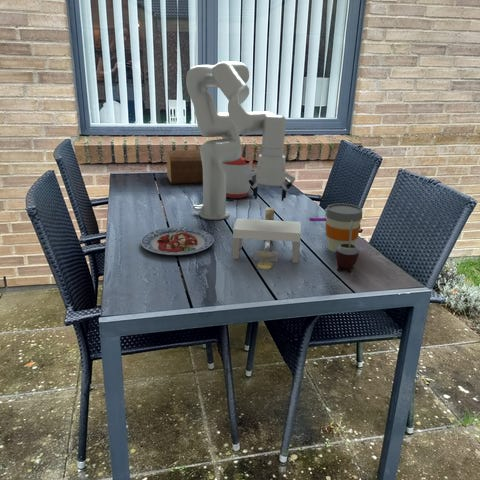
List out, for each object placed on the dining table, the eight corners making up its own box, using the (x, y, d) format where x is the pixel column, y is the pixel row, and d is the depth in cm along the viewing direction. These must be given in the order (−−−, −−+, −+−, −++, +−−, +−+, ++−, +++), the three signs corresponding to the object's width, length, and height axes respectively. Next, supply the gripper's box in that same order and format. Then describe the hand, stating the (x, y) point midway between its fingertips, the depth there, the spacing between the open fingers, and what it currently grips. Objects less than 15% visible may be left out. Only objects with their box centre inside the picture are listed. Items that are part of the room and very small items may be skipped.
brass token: (255, 269, 151) (255, 266, 150) (258, 263, 155) (258, 260, 155) (271, 271, 150) (271, 268, 149) (273, 265, 154) (273, 261, 154)
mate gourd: (342, 275, 148) (347, 230, 142) (328, 265, 154) (332, 222, 149) (361, 271, 150) (367, 227, 145) (347, 262, 157) (352, 219, 151)
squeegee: (305, 207, 208) (327, 208, 208) (304, 211, 208) (327, 211, 209) (316, 231, 181) (342, 232, 181) (316, 236, 182) (341, 236, 182)
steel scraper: (253, 260, 157) (254, 226, 152) (258, 237, 176) (259, 206, 172) (277, 261, 156) (279, 227, 152) (279, 238, 175) (281, 208, 171)
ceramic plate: (134, 237, 174) (133, 229, 173) (200, 229, 184) (200, 221, 182) (150, 264, 152) (149, 256, 151) (224, 253, 162) (224, 245, 161)
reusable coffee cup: (331, 256, 161) (336, 215, 155) (316, 243, 172) (320, 204, 166) (364, 253, 164) (370, 213, 158) (347, 240, 175) (352, 202, 170)
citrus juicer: (261, 196, 226) (262, 155, 219) (230, 201, 217) (231, 159, 209) (242, 188, 238) (243, 149, 231) (213, 193, 229) (213, 152, 221)
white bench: (232, 258, 157) (233, 229, 154) (236, 246, 168) (237, 218, 164) (298, 262, 155) (300, 233, 152) (298, 250, 166) (300, 222, 162)
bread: (227, 182, 250) (227, 152, 244) (170, 185, 242) (169, 153, 236) (219, 174, 266) (219, 145, 260) (166, 176, 258) (165, 147, 252)
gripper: (246, 152, 159) (244, 200, 166) (297, 155, 158) (293, 204, 164) (248, 147, 166) (246, 194, 173) (297, 151, 165) (293, 197, 171)
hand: (269, 198), depth 169 cm, fingers open, 9 cm apart
